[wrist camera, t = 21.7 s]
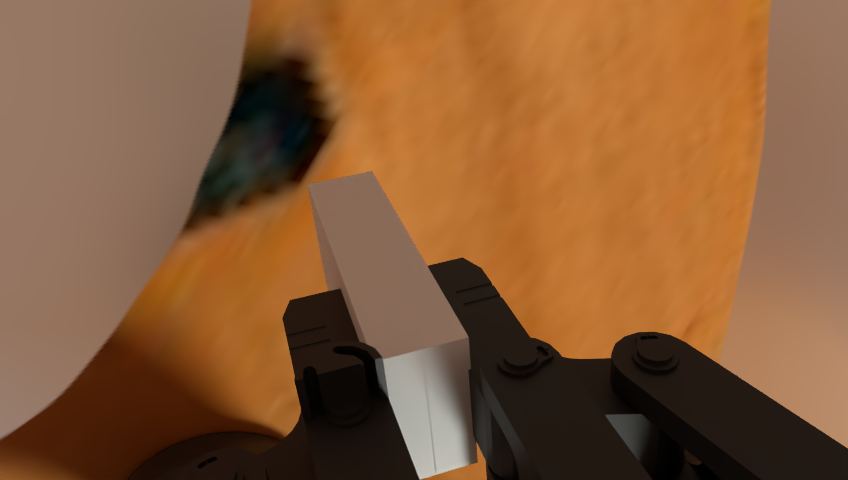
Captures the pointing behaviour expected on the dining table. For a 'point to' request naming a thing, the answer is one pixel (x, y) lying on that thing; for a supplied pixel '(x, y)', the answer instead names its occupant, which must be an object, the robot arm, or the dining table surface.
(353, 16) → the dining table surface
